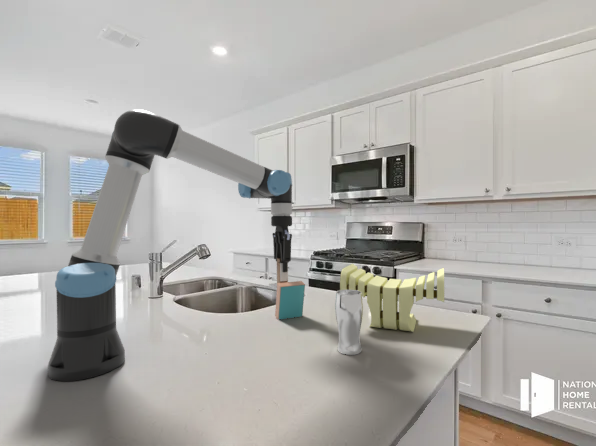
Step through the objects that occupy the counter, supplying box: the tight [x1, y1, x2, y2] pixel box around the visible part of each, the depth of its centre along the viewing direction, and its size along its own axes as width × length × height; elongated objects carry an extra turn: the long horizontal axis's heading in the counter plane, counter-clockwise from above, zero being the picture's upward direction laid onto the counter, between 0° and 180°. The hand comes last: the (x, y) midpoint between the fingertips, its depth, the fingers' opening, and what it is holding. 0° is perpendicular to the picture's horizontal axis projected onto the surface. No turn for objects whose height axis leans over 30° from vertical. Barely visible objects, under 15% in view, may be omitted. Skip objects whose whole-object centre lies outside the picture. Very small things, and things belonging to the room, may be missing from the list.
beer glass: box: [334, 289, 364, 356], centre depth 85 cm, size 7×7×15 cm
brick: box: [274, 280, 306, 320], centre depth 114 cm, size 3×9×12 cm, turn 114°
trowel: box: [268, 258, 289, 292], centre depth 120 cm, size 12×6×11 cm, turn 24°
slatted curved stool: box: [339, 263, 445, 333], centre depth 106 cm, size 30×16×18 cm, turn 67°
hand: (282, 280), depth 120 cm, fingers closed on trowel, 3 cm apart
